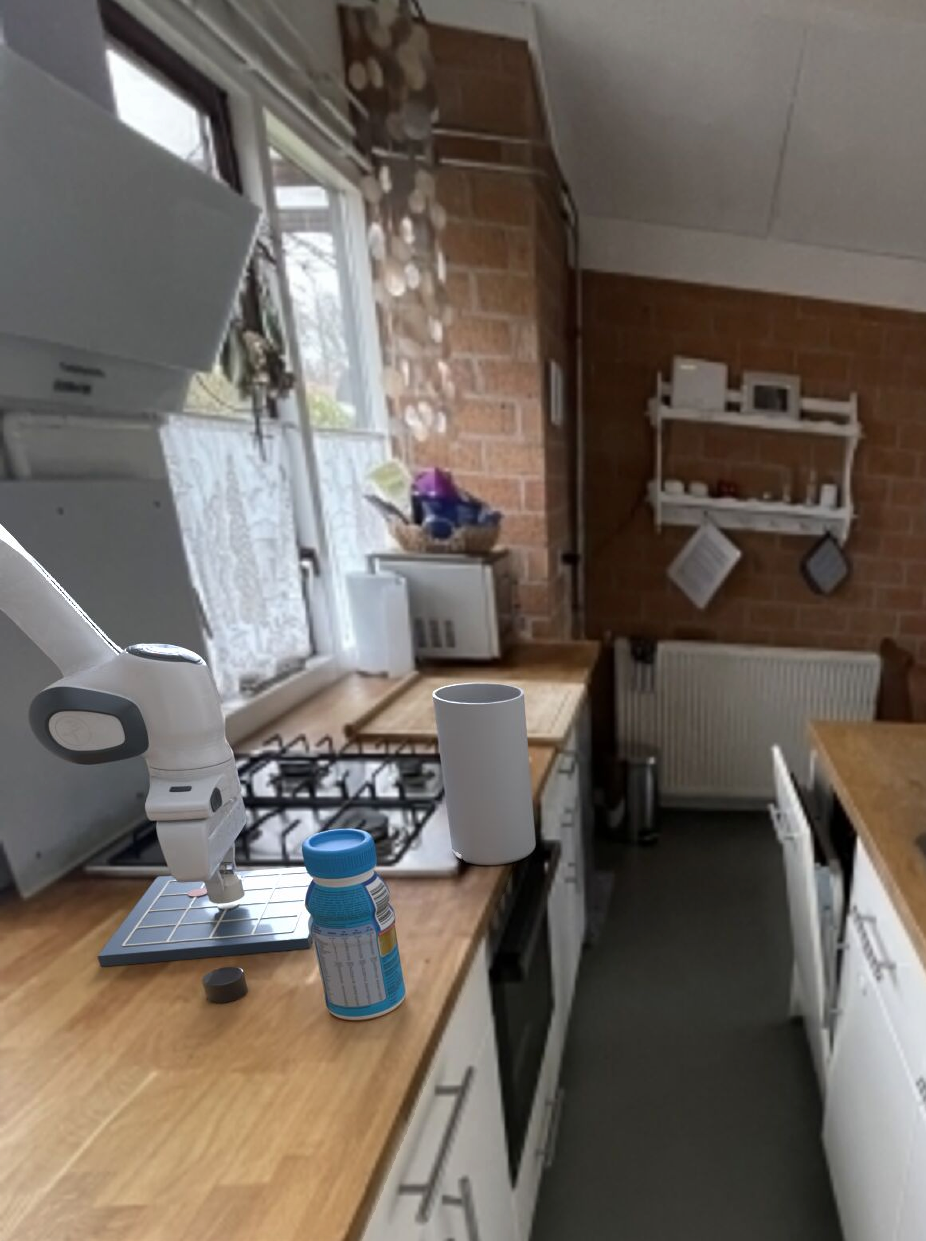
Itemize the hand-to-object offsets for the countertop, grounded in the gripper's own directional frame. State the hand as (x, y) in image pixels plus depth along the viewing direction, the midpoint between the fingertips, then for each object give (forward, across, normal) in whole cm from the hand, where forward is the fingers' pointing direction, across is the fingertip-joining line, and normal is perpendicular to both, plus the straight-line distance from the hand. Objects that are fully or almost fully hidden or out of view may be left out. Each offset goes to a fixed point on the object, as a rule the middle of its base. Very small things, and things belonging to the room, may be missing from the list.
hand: (223, 883), depth 113 cm
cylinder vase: (+5, -16, +33) cm, 37 cm away
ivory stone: (+2, 0, 0) cm, 2 cm away
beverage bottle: (+5, +25, +19) cm, 32 cm away
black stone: (+5, +20, +4) cm, 21 cm away
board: (+5, 0, 0) cm, 5 cm away
